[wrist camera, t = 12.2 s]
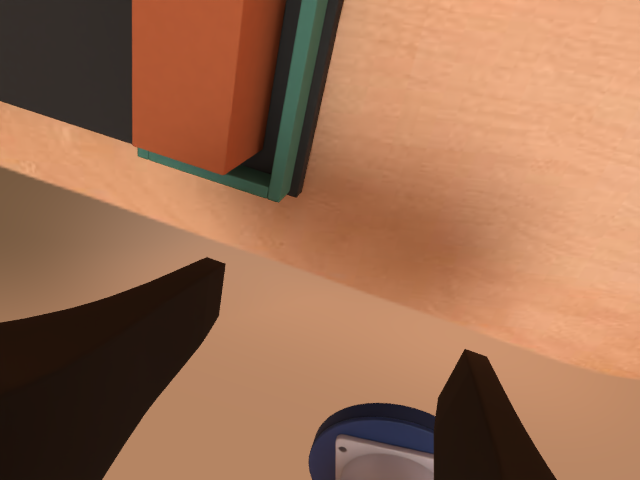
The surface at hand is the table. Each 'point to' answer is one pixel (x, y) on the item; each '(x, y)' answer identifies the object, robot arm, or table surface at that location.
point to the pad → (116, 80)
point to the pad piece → (203, 78)
